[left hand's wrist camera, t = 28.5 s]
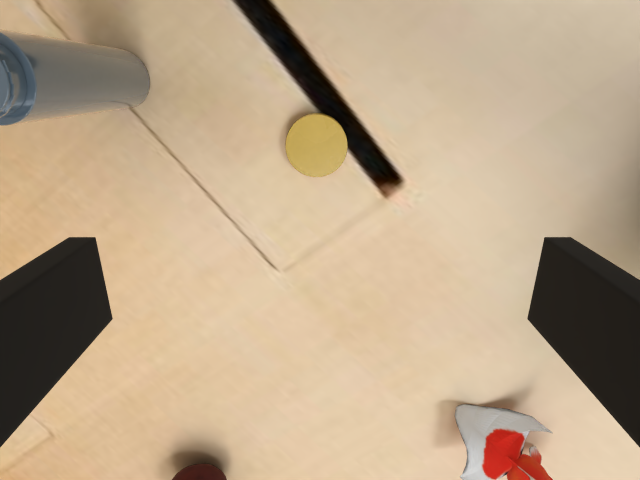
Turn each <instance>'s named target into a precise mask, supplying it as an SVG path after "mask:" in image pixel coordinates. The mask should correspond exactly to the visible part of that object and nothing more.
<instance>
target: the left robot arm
mask: <svg viewBox="0 0 640 480" xmlns="http://www.w3.org/2000/svg"><path fill="white" fill-rule="evenodd" d="M111 320H112V314H111V309H110V305H109V300H108V295H107V290H106V286H105V281H104V276H103V271H102V267H101V262H100V257H99V252H98V247H97V243H96V238H95V237H69V238H67V239H66V240H64V241H63V242H61V243H59V244H58V245H56V246H55V247H53V248H51V249H50V250H48V251H46V252H45V253H43V254H42V255H40V256H38V257H37V258H35V259H34V260H32V261H30V262H29V263H27V264H26V265H24V266H22V267H21V268H19V269H17V270H16V271H14V272H13V273H11V274H9V275H8V276H6V277H5V278H3V279H1V280H0V447H1V446H2V445H3V444H4V442H5V441H6V440H7V439H8V438H9V437H10V436H11V434H12V433H13V432H14V431H15V430H16V429H17V428H18V426H19V425H20V424H21V423H22V422H23V421H24V420H25V418H26V417H27V416H28V415H29V414H30V413H31V412H32V410H33V409H34V408H35V407H36V406H37V405H38V404H39V402H40V401H41V400H42V399H43V398H44V397H45V396H46V394H47V393H48V392H49V391H50V390H51V389H52V388H53V386H54V385H55V384H56V383H57V382H58V381H59V380H60V378H61V377H62V376H63V375H64V374H65V373H66V372H67V370H68V369H69V368H70V367H71V366H72V365H73V364H74V362H75V361H76V360H77V359H78V358H79V357H80V356H81V354H82V353H83V352H84V351H85V350H86V349H87V348H88V346H89V345H90V344H91V343H92V342H93V341H94V340H95V338H96V337H97V336H98V335H99V334H100V333H101V332H102V330H103V329H104V328H105V327H106V326H107V325H108V324H109V322H110V321H111ZM528 320H529V321H530V322H531V324H532V325H533V326H534V327H535V328H536V329H537V330H538V332H539V333H540V334H541V335H542V336H543V337H544V338H545V340H546V341H547V342H548V343H549V344H550V345H551V346H552V348H553V349H554V350H555V351H556V352H557V353H558V354H559V356H560V357H561V358H562V359H563V360H564V361H565V362H566V364H567V365H568V366H569V367H570V368H571V369H572V370H573V372H574V373H575V374H576V375H577V376H578V377H579V378H580V380H581V381H582V382H583V383H584V384H585V385H586V386H587V388H588V389H589V390H590V391H591V392H592V393H593V394H594V396H595V397H596V398H597V399H598V400H599V401H600V402H601V404H602V405H603V406H604V407H605V408H606V409H607V410H608V412H609V413H610V414H611V415H612V416H613V417H614V418H615V420H616V421H617V422H618V423H619V424H620V425H621V426H622V428H623V429H624V430H625V431H626V432H627V433H628V434H629V436H630V437H631V438H632V439H633V440H634V441H635V442H636V444H637V445H638V446H639V447H640V280H639V279H637V278H635V277H634V276H632V275H631V274H629V273H627V272H626V271H624V270H623V269H621V268H619V267H618V266H616V265H614V264H613V263H611V262H610V261H608V260H606V259H605V258H603V257H602V256H600V255H598V254H597V253H595V252H594V251H592V250H590V249H589V248H587V247H585V246H584V245H582V244H581V243H579V242H577V241H576V240H574V239H573V238H571V237H545V238H544V243H543V247H542V252H541V257H540V262H539V267H538V271H537V276H536V281H535V286H534V290H533V295H532V300H531V305H530V309H529V314H528Z"/></svg>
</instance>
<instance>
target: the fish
mask: <svg viewBox="0 0 640 480" xmlns="http://www.w3.org/2000/svg"><path fill="white" fill-rule="evenodd" d="M455 419H456V422H457V425H458V428H459V431H460V433H461V436H462V438H463V441H464V443H465V445H466V448H467V462H466V467H465V469H464V471H463V474H462V475H461V476H460V478H461V479H462V480H498V479H499V478H501V477H503V476H504V475H506V474H507V479H508V480H553V479H552V478H551V477H550V476H549V475H548V474H547V472H546V471H545V469H544V468H543V467H542V466H541V465H540V464H541V455H540V453H539V452H538V450H537V448H536V447H535V446H532V447H530V448H529V450H530V456H528V455H525V454H522V451H523V447H524V443H525V439H526V437H527V436H528V434H529V432H530V431H545V432H550V433H552V432H551V431H550V430H548V429H547V428H546V427H545V426H543V425H542V424H541V423H539V422H538V421H537V420H536V419H534V418H533V417H532V416H529V415H525V414H522V413H519V412H515V411H512V410H509V409H502V408H494V407H483V406H475V405H469V404H463V405H459V406H457V407H456V411H455ZM521 454H522V455H521Z"/></svg>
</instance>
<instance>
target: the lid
mask: <svg viewBox="0 0 640 480" xmlns="http://www.w3.org/2000/svg"><path fill="white" fill-rule="evenodd" d="M286 153H287V157H288V159H289V161H290V163H291V164H292V165H293V167H294V168H295V169H296V170H298V171H299V172H301V173H302V174H304V175H307V176H311V177H322V176H326V175H329V174H331V173H333V172H334V171H335V170H337V169H338V168H339V167H340V165H341V164H342V163H343V161H344V159H345V157H346V153H347V138H346V135H345V132H344V130H343V128H342V127H341V125H340V124H339V123H338V122H337V121H336V120H335V119H334V118H332V117H331V116H328V115H326V114H322V113H311V114H307V115H305V116H303V117H301V118H299V119H298V120H297V121H296V122H295V123H294V124H293V126H292V127H291V129H290V130H289V132H288V135H287V138H286Z"/></svg>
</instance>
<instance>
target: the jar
mask: <svg viewBox="0 0 640 480" xmlns="http://www.w3.org/2000/svg"><path fill="white" fill-rule="evenodd" d="M149 88H150V79H149V75H148V71H147V69H146V67H145V65H144V64H143V63H142V61H141V60H140V59H139V58H138V57H137V56H136V55H134V54H133V53H131V52H129V51H127V50H124V49H119V48H113V47H107V46H101V45H95V44H88V43H82V42H76V41H70V40H64V39H58V38H52V37H46V36H40V35H34V34H28V33H22V32H15V31H9V30H3V29H0V125H12V124H20V123H27V122H34V121H41V120H48V119H55V118H63V117H70V116H77V115H84V114H91V113H98V112H106V111H113V110H120V109H127V108H133V107H136V106H138V105H139V104H141V103H142V102H143V101H144V100H145V98H146V97H147V95H148V92H149Z"/></svg>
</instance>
